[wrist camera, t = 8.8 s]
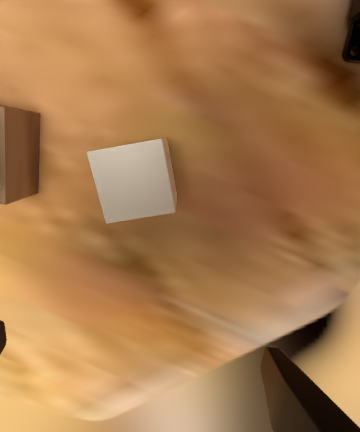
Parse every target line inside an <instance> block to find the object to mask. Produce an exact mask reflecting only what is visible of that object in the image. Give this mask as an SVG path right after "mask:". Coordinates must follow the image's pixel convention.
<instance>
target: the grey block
mask: <svg viewBox="0 0 360 432" xmlns="http://www.w3.org/2000/svg"><path fill="white" fill-rule="evenodd" d="M87 156H88V160H89V163H90V167H91V171H92V174H93V178H94V182H95V185H96V189H97V193H98V196H99V200H100V204H101V207H102V211H103V215H104V218H105V222H106V224H107V223H113V222H120V221H126V220H132V219H139V218H145V217H151V216H158V215H164V214H170V213H175V212H176V204H177V191H176V186H175V180H174V174H173V169H172V163H171V157H170V152H169V146H168V140H167V138H161V139H156V140H150V141H145V142H139V143H133V144H128V145H122V146H117V147H111V148H106V149H100V150H95V151H89V152H87Z"/></svg>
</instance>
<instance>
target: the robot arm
mask: <svg viewBox="0 0 360 432" xmlns="http://www.w3.org/2000/svg"><path fill="white" fill-rule="evenodd" d="M349 20H350V23H351V24H350V28H349V32H348V36H347V40H346V43H345V47H344V51H343V57H344V59H345V60H346V61H348V62H356V63H360V0H354V1H353V5H352V9H351V13H350V17H349ZM351 49H354V51H355V54H354V56H353V55H351ZM5 345H6V332H5V324H4V322H3V321H1V320H0V354H1V352H2V351H3V349H4V347H5ZM261 375H262V380H263V385H264V391H265V396H266V402H267V407H268V412H269V417H270V422H271V426H272V430H273V432H360V428H359V427H358V426H357V425H356V424H355V423H354V422H353V421H352V420H351V419H350V418H349V417H348V416H347V415H346V414H345V413H344V412H343V411H342V410H341V409H340V408H339V407H338V406H337V405H336V404H335V403H334V402H333V401H332V400H331V399H330V398H329V397H328V396H327V395H326V394H325V393H324V392H323V391H322V390H321V389H320V388H319V387H318V386H317V385H316V384H315V383H314V382H313V381H312V380H311V379H310V378H309V377H308V376H307V375H306V374H305V373H304V372H303V371H302V370H301V369H300V368H299V367H298V366H297V365H295V363H294V362H292V360H291V359H290V358H289V357H288V356H287V355H286V354H285V353H284V352H283V351H282V350H281V349H279V348H278V347H271V346H267V347H266V348H265V350H264V354H263V358H262V362H261Z"/></svg>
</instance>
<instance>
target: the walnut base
mask: <svg viewBox="0 0 360 432" xmlns="http://www.w3.org/2000/svg"><path fill="white" fill-rule="evenodd" d="M39 143H40V113H35V112H31V111H26V110H21V109H16V108H11V107H6V106H2V105H0V186H1V188H0V204H5V205H6V204H9V203H11V202H14V201H17V200H20V199H22V198H25V197H28V196H31V195H33V194H36V193H38V181H39Z"/></svg>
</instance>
